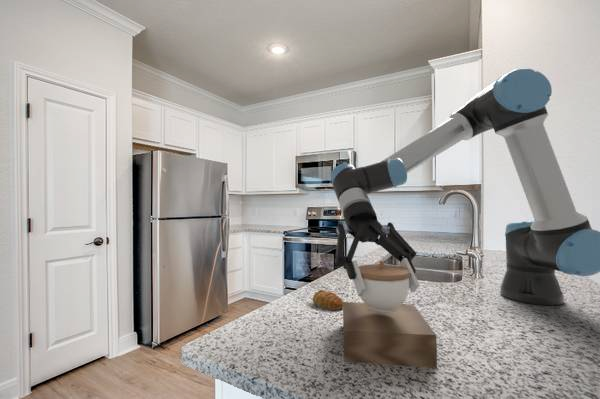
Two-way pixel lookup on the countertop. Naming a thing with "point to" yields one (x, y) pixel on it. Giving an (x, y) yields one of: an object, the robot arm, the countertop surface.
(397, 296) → the lidded jar
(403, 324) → the walnut box
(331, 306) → the pastry
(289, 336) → the countertop surface
